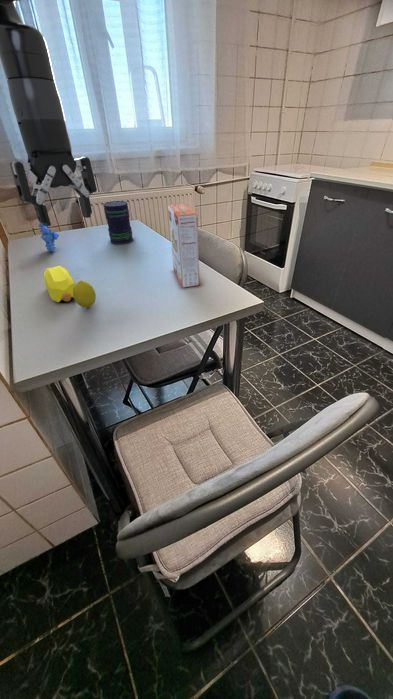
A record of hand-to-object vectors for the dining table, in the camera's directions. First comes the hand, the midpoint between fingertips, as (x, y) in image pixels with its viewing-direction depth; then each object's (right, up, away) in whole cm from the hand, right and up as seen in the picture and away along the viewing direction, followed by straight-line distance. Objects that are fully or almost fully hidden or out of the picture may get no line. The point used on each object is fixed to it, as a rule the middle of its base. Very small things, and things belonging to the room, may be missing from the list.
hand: (67, 221), depth 58 cm
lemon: (-4, -14, +22) cm, 27 cm away
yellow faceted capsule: (-15, -9, +30) cm, 35 cm away
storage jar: (-7, +22, +71) cm, 74 cm away
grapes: (-32, +14, +61) cm, 71 cm away
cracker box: (+22, -3, +37) cm, 43 cm away
